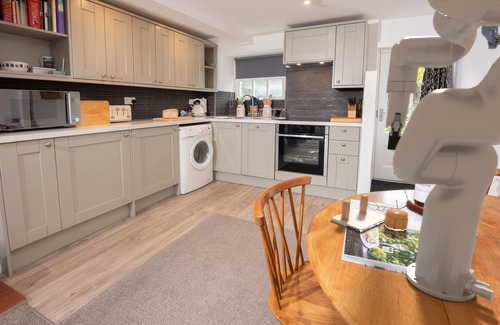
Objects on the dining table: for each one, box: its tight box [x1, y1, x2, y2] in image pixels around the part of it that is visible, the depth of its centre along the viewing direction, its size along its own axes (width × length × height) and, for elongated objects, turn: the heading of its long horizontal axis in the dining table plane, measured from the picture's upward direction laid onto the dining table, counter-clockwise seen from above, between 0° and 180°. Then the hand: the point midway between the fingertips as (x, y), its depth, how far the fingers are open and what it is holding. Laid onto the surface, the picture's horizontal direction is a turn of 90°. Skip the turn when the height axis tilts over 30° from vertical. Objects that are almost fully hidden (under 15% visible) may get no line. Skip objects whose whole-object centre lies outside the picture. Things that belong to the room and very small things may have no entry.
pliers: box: [405, 199, 424, 215], centre depth 100 cm, size 12×20×3 cm, turn 166°
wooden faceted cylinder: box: [383, 208, 409, 230], centre depth 90 cm, size 6×6×5 cm
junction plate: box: [330, 194, 385, 230], centre depth 95 cm, size 11×16×7 cm
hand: (393, 147), depth 88 cm, fingers open, 9 cm apart
